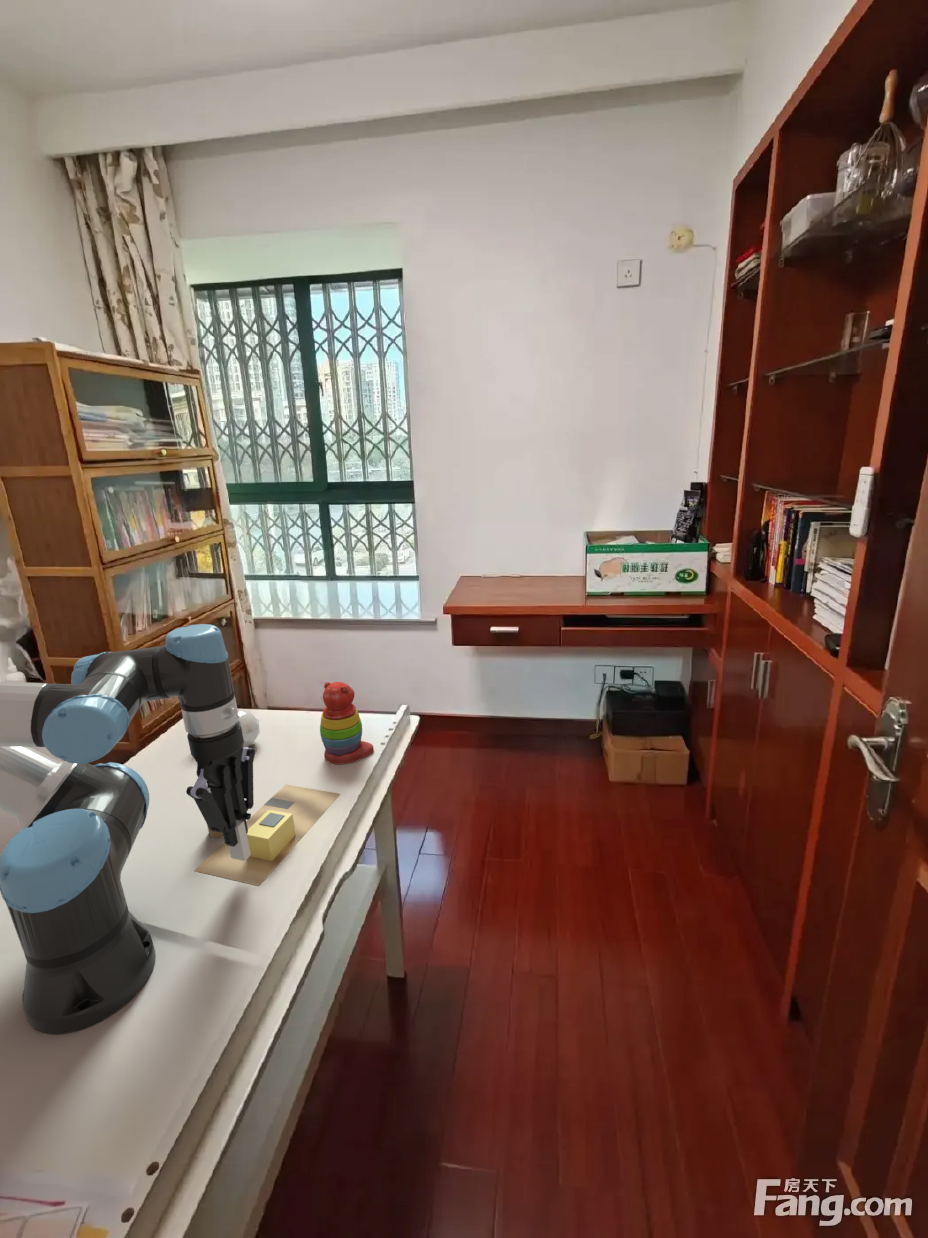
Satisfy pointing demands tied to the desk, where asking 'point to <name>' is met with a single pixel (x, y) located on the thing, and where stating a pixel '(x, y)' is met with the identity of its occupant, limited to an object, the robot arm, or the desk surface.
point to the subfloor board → (255, 870)
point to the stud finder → (270, 834)
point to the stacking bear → (342, 726)
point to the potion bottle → (248, 727)
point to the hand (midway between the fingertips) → (240, 856)
